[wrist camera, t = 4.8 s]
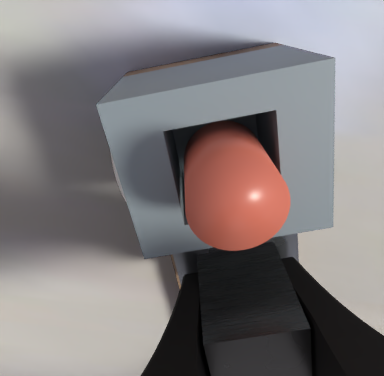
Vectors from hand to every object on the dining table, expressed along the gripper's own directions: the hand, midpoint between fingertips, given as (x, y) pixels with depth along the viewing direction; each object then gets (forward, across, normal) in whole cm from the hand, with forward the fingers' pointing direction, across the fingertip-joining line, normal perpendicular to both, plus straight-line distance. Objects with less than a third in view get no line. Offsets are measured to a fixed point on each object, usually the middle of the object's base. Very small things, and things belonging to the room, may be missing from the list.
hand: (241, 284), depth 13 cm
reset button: (0, 0, -5) cm, 6 cm away
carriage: (+2, 0, 0) cm, 2 cm away
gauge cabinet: (+3, 0, -6) cm, 6 cm away
